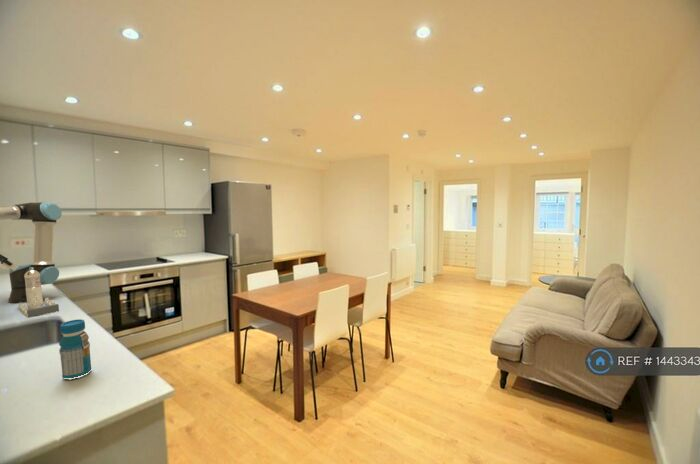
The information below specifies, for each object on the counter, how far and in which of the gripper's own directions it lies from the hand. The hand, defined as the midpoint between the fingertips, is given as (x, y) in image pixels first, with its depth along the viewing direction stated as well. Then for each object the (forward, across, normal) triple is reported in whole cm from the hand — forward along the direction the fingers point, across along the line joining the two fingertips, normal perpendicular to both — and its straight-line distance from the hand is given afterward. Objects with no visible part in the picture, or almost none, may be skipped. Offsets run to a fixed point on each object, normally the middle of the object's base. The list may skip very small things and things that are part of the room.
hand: (10, 268), depth 183 cm
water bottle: (+26, -1, -10) cm, 28 cm away
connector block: (+24, +18, -13) cm, 33 cm away
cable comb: (+25, +6, -11) cm, 28 cm away
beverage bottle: (+10, +115, -37) cm, 121 cm away
